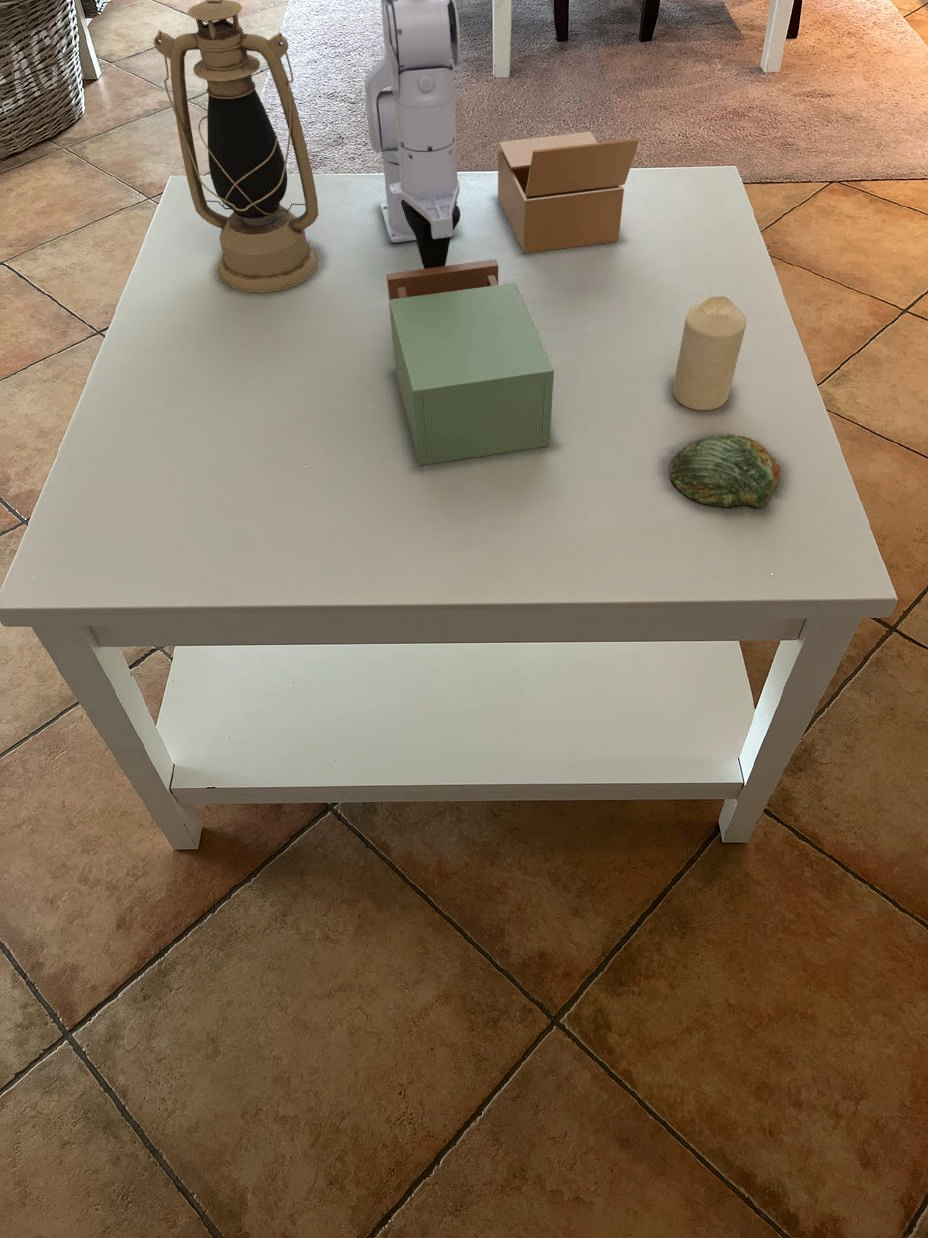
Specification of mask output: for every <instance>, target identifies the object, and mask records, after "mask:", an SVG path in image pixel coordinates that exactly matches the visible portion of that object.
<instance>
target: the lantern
mask: <svg viewBox="0 0 928 1238" xmlns="http://www.w3.org/2000/svg"><path fill="white" fill-rule="evenodd" d="M242 9H243V6H242V5H241V3H239V2H237V1H233V0H203V1H201V2H199V3H197V4H195V5H192V6H191V7H190V8H188V10H187V13H186V14H187V15H188V16H189V17H190V18H192V19H194V20H195V21H196V25H197V32H190V33H189V32H188V33H182V34H180V35H178V36H177V37H175V38H174V37H172V36H171V35H169V33H166V32H163V31H162V30H160V29H159V30H158V31H157V35H156V36H155V37H154V39H153V44H154V47H155V49H156V50H157V51H158V52H159V53H160V54H161V55H163V57H164V65H165V71H166V77H165V78H164V80H163V83H164V89H165V92H166V94H167V97H168V100H169V102H170V105H171V107H172V110H173V113H174V116H175V120H176V124H177V125H176V126H177V134H178V138H179V145H180V149H181V154H182V160H183V166H184V170H185V175H186V180H187V184H188V189H189V192H190V197H191V200H192V202H193V207H194V209H195V212H196V213H197V215H199V216H200V217H201V218H202V219H203V220H204V221H206V222H207V223H209V224H210V225H212V226H215V227H216V228H219V229H221V230H220V233H219V243H220V247H221V252H222V255H221V256H220V260H219V261H218V265H217V270H216V271H217V274H218V276H219V278H220V280H221V282H222V283H224V284H225V285H227V286H228V287H230V288H231V289H234V290H238V291H241V292H245V293H262V294H265V293H272V292H279V291H284V290H287V289H289V288H293V287H295V286H298V285H300V284H302V283H303V282H305V281H306V280H308V279H309V278H311V277H312V275H314V273H315V272H316V271H317V269H318V268H319V260H320V259H319V258H320V257H319V255H318V253H317V251H316V249H315V248H314V247H313V246H312V245H311V243H309V242H308V241H307V237H306V231H305V230H306V229H307V228H309V227H310V226H311V225H313V224H314V222H316V220H317V219H318V217H319V215H320V214H319V203H318V196H317V190H316V185H315V180H314V174H313V170H312V169H313V168H312V165H311V160H310V156H309V151H308V148H307V143H306V139H305V134H304V132H303V126H302V123H301V119H300V115H299V110H298V107H297V105H296V101H295V97H294V93H293V90H292V87H291V84H293V83H294V75H293V74H294V73H293V70H292V66H291V62H290V59H289V58H290V57H289V55H288V50H289V43H288V40H287V39H286V37H285V36H283V33H282V32H280V31H279V32H278V33H277V34H274V35H273V36H272V37H271V38H270V39H268V38H266V37H264V36H262V35H258V34H252V33H244V29H243V27H242V26H240V23H239V17H238V14H240V13H241V12H242ZM231 18H232V22H230V21H228V20H227V19H231ZM204 22H207V23H204ZM197 50H198V51H199V53H200V57H201V59H200V60H198V62H196V63H195V64H194V66H193V68H192V70H193V73H194V75H195V76H196V77H197V78H199V79H202V80H205V81H206V84H207V88H206V92H207V94H208V96H207V115H204V116H202V118H200V120H199V122H198V134H199V136H200V139H201V141H202V142H203V144H204V146H205V148H206V149H207V158H208V169H209V174H210V178H211V181H212V185H213V188H214V191H215V192H214V191H212V190H211V189H210V188H208V186H207V185H206V184H205V183H204V182H203V181H202V177H201V176H200V175H201V174H200V170H199V165H198V160H197V154H196V153H197V152H196V148H195V142H194V136H193V131H192V124H191V117H190V110H189V102H188V93H187V85H186V64H185V63H186V62H185V58H186V55H187V52H188V51H197ZM248 52H256V53H258V54H260V55H261V56H262V58H263V59H264V60H265V61H266V64H267V66H268V69H269V71H270V74H271V77H272V79H273V81H274V84H275V88H276V91H277V94H278V97H279V101H280V104H281V108H282V111H283V114H284V117H285V122H286V126H287V128H288V141H287V147H286V152H285V157H284V154H283V151H282V148H281V145H280V142H279V140H278V137H279V136H278V132H277V131H275V130H274V128H273V124H272V123H271V121H270V118H269V116H268V113H267V111H266V108H265V106H264V104H263V102H262V100H261V98H260V96H259V93H258V91H257V90H256V87H257V84H256V83H255V81H253V77H252V74H254V73H256V72H257V71H258V70H259V69H260V67H261V62H260V60H259V59H258V58H257V57H256V56H254V55H252V54H248ZM283 56H285V57H286V60H287V64H288V69H289V73H290V80H289V78H288V77H289V76H288V75H287V73H286V69H285V67H284V64H283V62H282V61H283V60H282V57H283ZM168 60H170V61H169V63H170V65H169V67H170V74H169V67H168ZM169 75H170V77H169ZM169 78H170V79H169ZM169 80H170V82H171V90H172V98H173V101H172V98H171V95H170V92H169V89H168V85H167V81H169ZM205 119H207V143H206V141H205V140H204V138H203V136H202V133H201V123H202V122H203V120H205ZM291 143H292V148H293V153H294V157H295V160H296V165H297V169H298V174H299V178H300V182H301V188H302V193H303V198H304V203H291V204H290V206H289V208H286V207H284V206H282V205H281V201H283V199H284V197H285V195H286V192H287V187H288V173H287V172H288V171H287V163H288V157H289V152H290V151H289V150H290V144H291ZM203 188H205V189H206V190H207V191H208V192H209V193H211V194H212V195H213V196H215V197H216V198H218V199H219V200H220V201H221V202H220V201H219V200H206V197H205V194H204V189H203ZM208 203H218V204H219V205H220V206H221V208H223V210H231V211H232V213H230V215H229V216H225V215H223V214H220V213H218V212H216V211H215V210H213V209H212V208H211V207H210V206H209V205H208ZM293 206H305V211H304V212H303V214H301V215H300V216H296V215H295V214H294V213H292V212H291V211H290V210H291V208H292V207H293Z"/></svg>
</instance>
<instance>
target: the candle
mask: <svg viewBox="0 0 928 1238" xmlns="http://www.w3.org/2000/svg"><path fill="white" fill-rule="evenodd" d="M747 321H748V320H747V317H746V315H745V313H744V312H743V311H742V310H741V309H740V307H738V306H737V305H736V304H735V303H733V301H732V300H731V299H729V297H727V296H721V295H720V296H709V297H708V298H706V299H705V300H703V301H700V302H699V303H697V304H695V305H693V306H692V307H691V308H689V309H688V311H687V312H686V314H685V321H684V326H683V331H682V336H681V341H680V348H679V353H678V358H677V364H676V370H675V375H674V380H673V387H672V388H673V389H672V393H673V396H674V399H675V400H676V401H677V402H678V403H679V404H681V405H682V406H684V407H686V408H688V409H692V410H697V411H711V410H715V409H716V410H717V409H718V408H720V407H722V406H723V405H724V404H725V403H726V402H727V400H728V398H729V395H730V392H731V388H732V384H733V380H734V376H735V371H736V367H737V363H738V359H739V355H740V352H741V347H742V342H743V339H744V335H745V330H746V326H747Z"/></svg>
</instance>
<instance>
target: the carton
mask: <svg viewBox="0 0 928 1238" xmlns="http://www.w3.org/2000/svg"><path fill="white" fill-rule="evenodd" d="M593 143H599V141H598V140H597V139H596V138H595V136H594V134H593V133H592V132H591V131H583V132H576V133H575V132H574V133H568V134H558V135H550V136H549V135H548V136H542V137H533V138H524V139H515V140H506V141H499V142H498V146H499V147H498V148H497V200H498V202H499V204H500V206H501V208H502V211H503V213H504V215H505V217H506V219H507V221H508V224H509V226H510V228H511V231H512V232H513V235H514V236H515V240H516V241H517V243H518V245H519V247H520V250H521V251H522V254H523V255H524V254H532V253H539V252H540V253H541V252H546V251H547V252H548V251H556V250H561V249H562V250H563V249H571V248H578V247H586V246H593V245H600V244H608V243H609V244H610V243H617V242H619V238H620V229H621V220H622V211H623V202H624V195H625V193H624V192H625V187H624V186H623V185H617V186H609V187H601V188H593V189H585V190H577V191H569V192H561V193H553V194H545V195H537V196H529V197H526V196H525V193H526V187H527V182H528V176H529V171H530V165H531V159H532V154H533V151H534V150H543V149H551V148H560V147H568V146H576V145H585V144H593Z"/></svg>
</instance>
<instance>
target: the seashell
mask: <svg viewBox="0 0 928 1238" xmlns="http://www.w3.org/2000/svg"><path fill="white" fill-rule="evenodd" d="M668 466H669V469H668V472H669V478H670V479H671V481H672V483H673V484H674V486H675V487H676V488H677V489H679V491H680V492H681V493H682V494H684V495H685V496H686V497H688V498H690V499H692V500H693V501H695V502H698V503H700V504H704V505H708V506H713V507H714V506H715V507H722V508H733V507H735V506H741V505H742V506H743V505H745V506H746V505H749V506H752V507H754V508H757V509H762V508H764V507H765V506H766V505H768V503H769V501H770V500H771V498H772V496H773V494H774V491H775V490H776V489H777V486H778V485H779V483H780V479H781V474H782V471H781V466H780V465H779V464H778V463H777V462H776V459H775V458H774V457H773V456H772V454H771V453H770V452H769V451H768V450H767V448H765V447H764V446H763V445H761V443H759V442H758V441H756V440H755V439H753V438H751V437H746V436H744V435H743V436H742V435H736V434H729V433H728V434H714V435H712V436H708V437H704V438H702V439H698V440H694V441H693V442H691V443H689V444H688V445H687V446H685V447H683V448H682V449H680V450H678V452H677V453H676V455H674V456H672V458H671V459H670V463H669V465H668Z"/></svg>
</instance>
